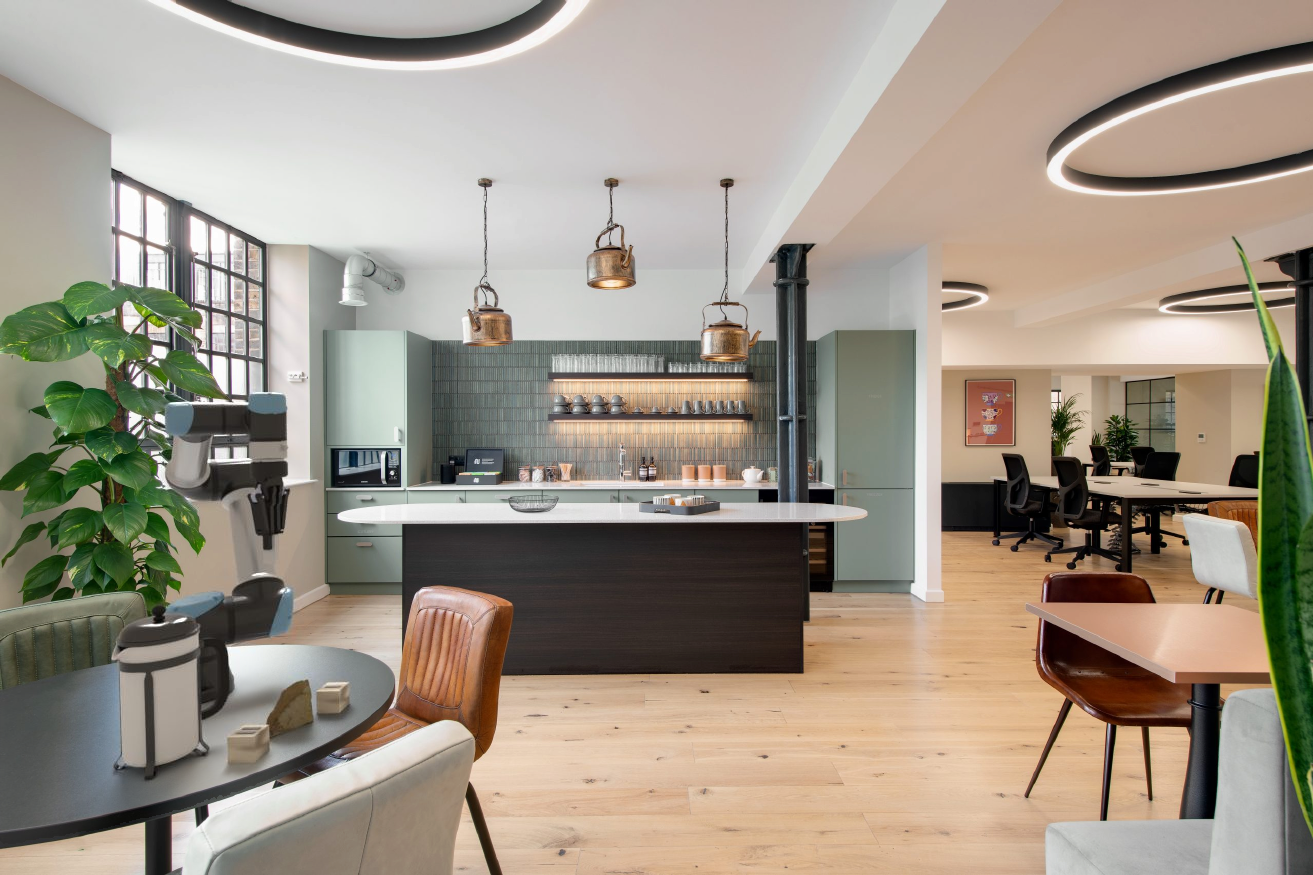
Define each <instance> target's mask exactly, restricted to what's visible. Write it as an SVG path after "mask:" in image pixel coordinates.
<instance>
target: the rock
mask: <svg viewBox="0 0 1313 875" xmlns="http://www.w3.org/2000/svg"><path fill="white" fill-rule="evenodd" d="M312 698H313V696H312V688H311V686H310V681H309V680H308V679H305V680H297V681H296V682H294V683H292V684H291V685H288V687H287V688H285V689H283V690H282V691H281V693H280V696H279V699H278V701H276V704H275V706H274V708H273V710H272V711H271V712H270V713H269V714H268V717H267V718H266V723H265V725H269V739H270V738H273V737H275V736H278V735H282V734H285V733H287V732H289V731H291V730H296V729H298V728H300V727H302V726H304V725H306V724H310V723H311V722H313V721H314V714H313V712H314V710H313V704H312Z"/></svg>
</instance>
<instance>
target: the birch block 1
mask: <svg viewBox="0 0 1313 875" xmlns="http://www.w3.org/2000/svg"><path fill="white" fill-rule="evenodd" d="M226 741H227V742H226V744H227V745H226V746H227V751H226V752H227V764H244V763H246V764H247V763H248V764H249V763H250V764H251V763H256V762H257V761H258V760H259V759H260V758H262V757H263V756H264V755H265V754H266V753H268V752H269V751H270V748H271V747H270V738H269V725H266V724H244V725H242V726H240V727H238V729H237V730H234V732H232V733H231V734H229V735H228V736H227V737H226Z"/></svg>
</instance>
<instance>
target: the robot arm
mask: <svg viewBox="0 0 1313 875" xmlns="http://www.w3.org/2000/svg"><path fill="white" fill-rule="evenodd" d="M287 411H288V406H287V397H286V395H285V394H284V393H281V392H252V393H251V392H250V393H249V395H248V401H247V402H203V401H202V402H199V401H197V402H196V401H192V402H191V401H181V402H180V401H179V402H168V403H167V404H165V407H164V428H165V429H164V430H165V433H166V434H167V435H168V436H173V443H172V449H171V450H172V451H171V459H170V460H169V461H168V463H167V464H166V465H165V472H164V475H165V476H164V478H165V480H166V483H167V485H168V486H169V487H170V488H171V489H172V490H173V491H174V492H175V493H176V494H178V495H180V496H181V497H184V498H187V499H189V500H192V501H195V502H196V501H197V502H202V503H203V502H220V503H221V507H222V508H224V509H225V510H226V511H228V512H229V520H230V529H231V539H232V545H233V546H232V548H233V554H234V562H235V570H236V579H237V584H236V585H235V586H234V587H232V590H231V595H227V596H225V593H224V592H223V591H221V590H213V591H212V590H211V591H203V592H199V593H194V594H192V595H188V596H184V597H182V598H179V599H177V600H175V601H173V602H171V603H170V604H168V605H167V607H166V609H167V610H166V612H165V613H164V614H185V615H189V616H191V617H193V618H194V619H195V620H196V621H197V623H198V624H200V626H201V630H200V632H199V633H198V641H199V640H202V639H203V638H217V639H220V640H221V641H222V642H224V644H225V645H226V646H229V645H234V644H235V645H236V644H239V643H240V644H241V643H245V642H250V641H257V640H261V639H268V638H269V639H271V638H272V637H276V636H281V635H284V634H287V632H288V631H289V630H290V629H291V626H292V621H293V616H294V615H293V614H294V594H295V593H294V590H293V587H292V586H285V582H284V580H283V578H281V577H279V576H277V574H276V573H277V572H276V566H275V565H276V564H279V563H280V549H279V545H280V544H279V543H280V542H279V534H281V535H282V534H284V532H285V531H284V530H285V527H286V519H287V511H288V503H289V502H288V501H289V500H288V499H289V497H290V496H289V495H290V493H291V489H290V487H287V488H286V487H285V486H284V480H283V478H287V477H288V476H289V462H287V460H285V459H287V458H288V449H289V446H288V433H287V432H288V430H287V429H288V428H287V424H288V423H287V422H288V417H287V416H288V415H287V414H288V412H287ZM225 435H226V436H229V435H234V436H235V435H236V436H237V435H239V436H240V435H248V437H249V438H248V442H249V443H248V447H249V448H248V455H249V456H248V457H246V458H245V457H244V458H215V459H214V458H211V459H210V458H209V456H210V452H211V447H212V443H213V438H214V436H225ZM200 676H201V704H204V703H206V702H210V701H213V700H216V699H217V696H218V666H217V653H216V651H215V649H214V648H213V647H206V648H200ZM234 689H235V676H234V674H233V672H232V669H231V667H230V666H229V693H230V692H232V691H233V690H234Z"/></svg>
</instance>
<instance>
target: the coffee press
mask: <svg viewBox="0 0 1313 875" xmlns="http://www.w3.org/2000/svg"><path fill="white" fill-rule="evenodd" d="M166 608H167V607H166V606H165V605H164V604H157V605H154V606H153V607H152V608H151V611H150V613H151V614H152V615H151V616H147V617H144V618H140V619H137V620H134V621H133V622H130V623H128V624H127V625H126V626H124V628H122V629H121V631H120V633H119V634H118V636H117V637H116V639H115V644H116V645H115V647H114V649H113V651H112V655H111V661H116V660H117V669H118V682H119V684H118V687H119V692H118V693H119V721H120V722H119V724H120V725H119V726H120V727H119V728H120V755H119V757H118V758H117V760H116V761H115V762H114V764H113V768H114V770H116V771H119V770H122V769H123V768H124V767H125V766H126V765H128V766H129V767H133V768H144V775H143V778H144V781H145V780H152V779H155V778H156V775H157V770H158V768H159V766H160V765H165V764H168V763H172V762H174V761H176V760H179V759H182V758H183V757H185V756H187V755H189V754H190V753H195V754H197V755H198V756H201V757H203V756H206V755H207V754H208V753H209V751H210V749H211V748H210V746H209V745H208V744H207V743H206V742H205V741H204V739H203V721H204V720H207V719H209V718H211V717H212V716H214V715H216V714H217V713H218V712H220V711H221V710H222V709H223V708H224V706H225V704H226V703H227V701H228V697H229V694H230V692H229V667H230V663H229V662H230V661H229V660H230V659H229V651H228V648H227V645H225V644H224V642H222V641H221V640H220V639H217V638H203V639H202V640H199V641H198V633H199V632H200V630H201V626H200V624H198V623H197V621H196V620H195V619H194V618H193V617H191V616H189V615H185V614H165V612H166V610H167V609H166ZM206 647H213V648H214V649H215V651H216V653H217V666H218V696H217V698H216V699H215V701H214V702H213V704H211V705H210V706H209V707H207V708H204V709H203V710H202V703H201V676H200V648H206ZM199 744H200V745H201V746H202V747H203V748H204V749H205V750H206V751H202V750H200V749H199V748H197V747H198V746H199ZM121 758H122V761H123V762H124V764H123V765H119V764H118V762H119V760H120V759H121Z"/></svg>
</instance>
